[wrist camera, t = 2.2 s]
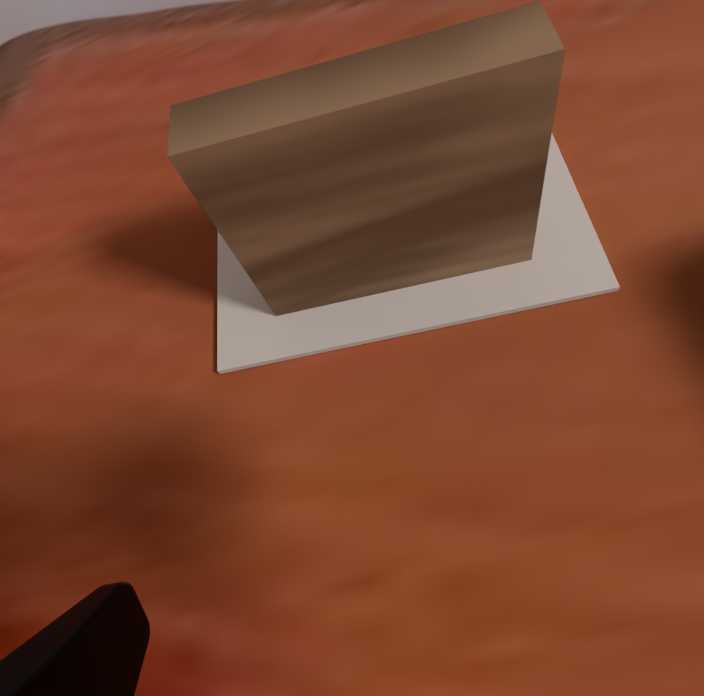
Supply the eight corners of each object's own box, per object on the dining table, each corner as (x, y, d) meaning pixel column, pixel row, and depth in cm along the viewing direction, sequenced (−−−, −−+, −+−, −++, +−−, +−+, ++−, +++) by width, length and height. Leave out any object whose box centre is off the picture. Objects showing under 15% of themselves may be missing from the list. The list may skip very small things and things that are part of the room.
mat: (618, 290, 22) (619, 287, 22) (220, 374, 24) (217, 371, 24) (516, 59, 30) (517, 54, 29) (219, 139, 32) (217, 135, 32)
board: (531, 259, 23) (565, 48, 15) (276, 316, 25) (167, 156, 16) (517, 219, 24) (540, 1, 16) (273, 275, 26) (170, 105, 17)
